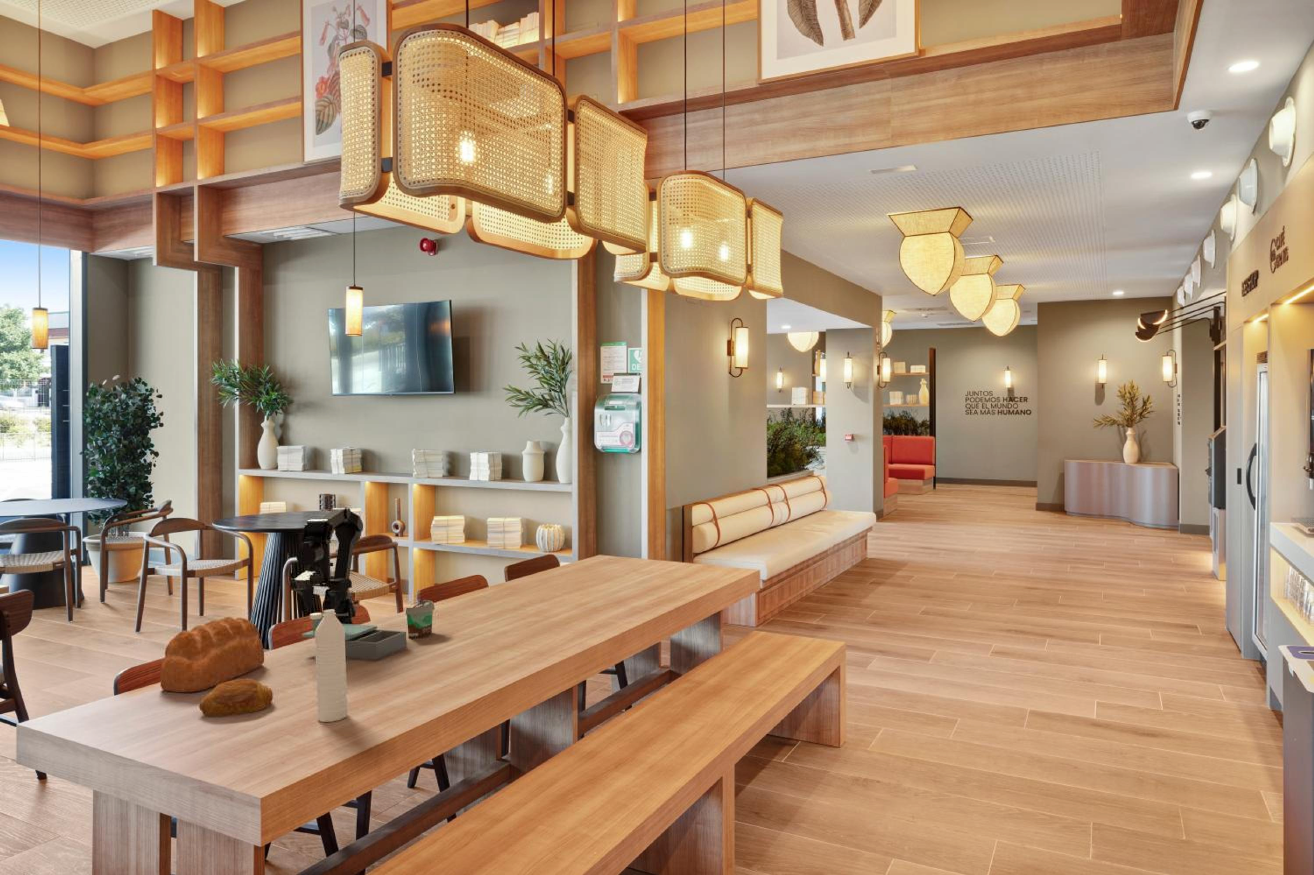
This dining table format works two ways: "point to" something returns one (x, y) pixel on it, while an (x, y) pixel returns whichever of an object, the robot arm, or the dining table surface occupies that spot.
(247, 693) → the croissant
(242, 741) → the dining table surface
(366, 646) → the parts box
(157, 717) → the dining table surface
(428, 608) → the food container
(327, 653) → the water bottle
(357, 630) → the lid
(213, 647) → the bread
